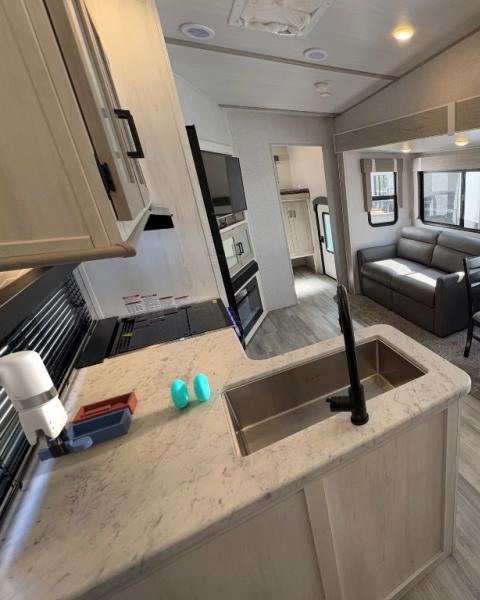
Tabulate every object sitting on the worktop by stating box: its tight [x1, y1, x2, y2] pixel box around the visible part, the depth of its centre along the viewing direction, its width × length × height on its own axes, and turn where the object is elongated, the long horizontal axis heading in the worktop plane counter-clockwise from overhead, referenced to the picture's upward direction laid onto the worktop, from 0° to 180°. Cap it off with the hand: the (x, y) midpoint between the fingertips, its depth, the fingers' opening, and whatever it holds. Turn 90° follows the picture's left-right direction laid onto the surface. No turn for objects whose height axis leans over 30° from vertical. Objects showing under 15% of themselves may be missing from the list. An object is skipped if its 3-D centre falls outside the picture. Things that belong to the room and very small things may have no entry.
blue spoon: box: [36, 436, 93, 462], centre depth 86 cm, size 10×4×3 cm, turn 121°
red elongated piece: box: [85, 403, 125, 417], centre depth 107 cm, size 10×4×3 cm, turn 122°
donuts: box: [170, 373, 211, 409], centre depth 111 cm, size 10×10×10 cm
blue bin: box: [66, 408, 133, 454], centre depth 99 cm, size 15×9×4 cm, turn 122°
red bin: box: [72, 390, 139, 425], centre depth 107 cm, size 15×9×4 cm, turn 122°
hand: (63, 452), depth 86 cm, fingers closed on blue spoon
